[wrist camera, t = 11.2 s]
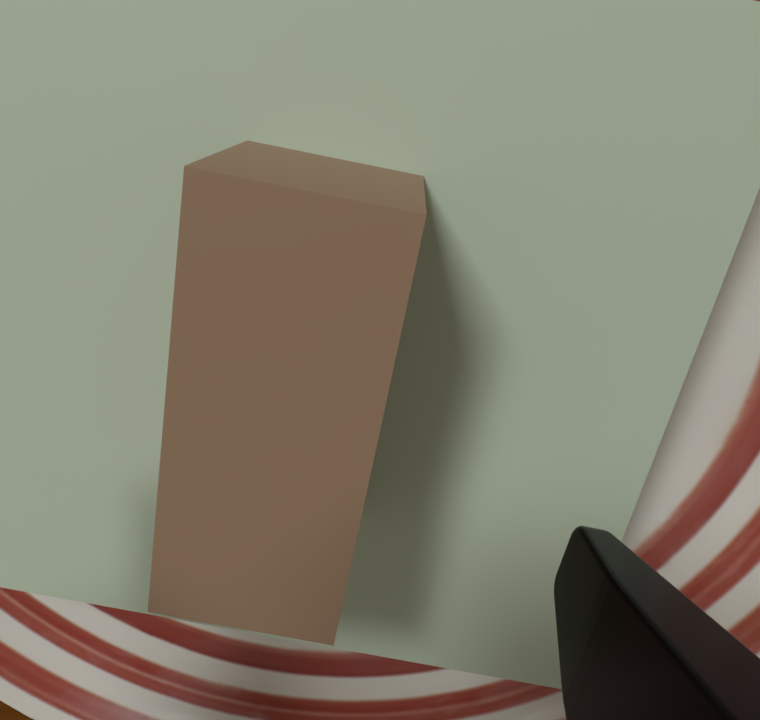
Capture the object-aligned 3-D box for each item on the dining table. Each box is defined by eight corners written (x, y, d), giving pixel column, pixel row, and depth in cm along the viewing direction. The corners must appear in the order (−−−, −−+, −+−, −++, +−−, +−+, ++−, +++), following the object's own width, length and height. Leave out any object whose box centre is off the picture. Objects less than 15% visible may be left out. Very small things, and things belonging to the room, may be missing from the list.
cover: (800, 19, 11) (1004, -8, 7) (556, 662, 17) (601, 845, 13) (-63, -164, 11) (-332, -297, 7) (-33, 554, 16) (-177, 709, 12)
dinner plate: (-12, 743, 23) (-76, 844, 20) (-521, -301, 13) (-801, -414, 10) (862, 679, 21) (940, 785, 18) (1047, -683, 11) (1304, -990, 8)
